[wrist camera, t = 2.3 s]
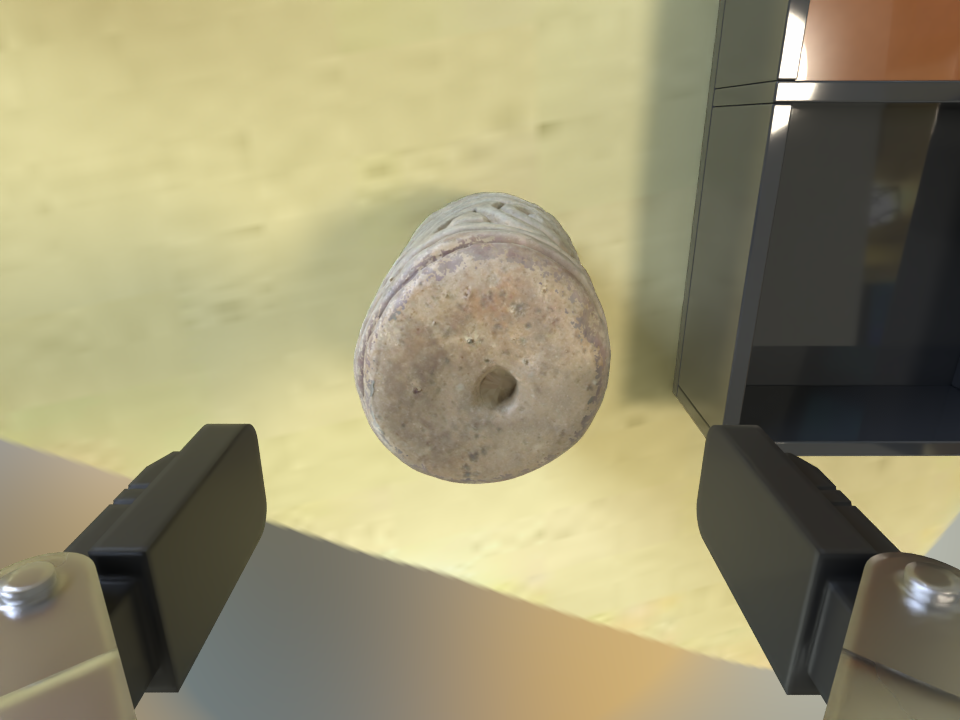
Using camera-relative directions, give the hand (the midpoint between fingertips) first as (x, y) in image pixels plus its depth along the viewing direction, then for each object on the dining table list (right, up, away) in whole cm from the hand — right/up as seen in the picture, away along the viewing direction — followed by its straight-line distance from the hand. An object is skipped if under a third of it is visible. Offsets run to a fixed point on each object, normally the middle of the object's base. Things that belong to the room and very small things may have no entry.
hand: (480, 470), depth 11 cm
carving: (0, +6, +14) cm, 15 cm away
